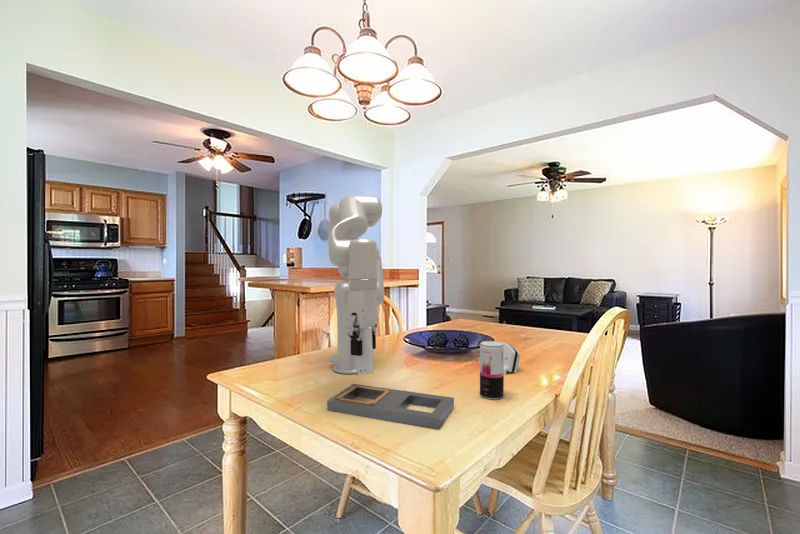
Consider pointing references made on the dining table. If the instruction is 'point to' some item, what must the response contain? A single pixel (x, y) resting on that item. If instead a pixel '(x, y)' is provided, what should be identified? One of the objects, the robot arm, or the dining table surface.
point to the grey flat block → (392, 405)
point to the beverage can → (491, 369)
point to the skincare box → (365, 353)
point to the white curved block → (510, 358)
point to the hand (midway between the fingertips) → (363, 351)
